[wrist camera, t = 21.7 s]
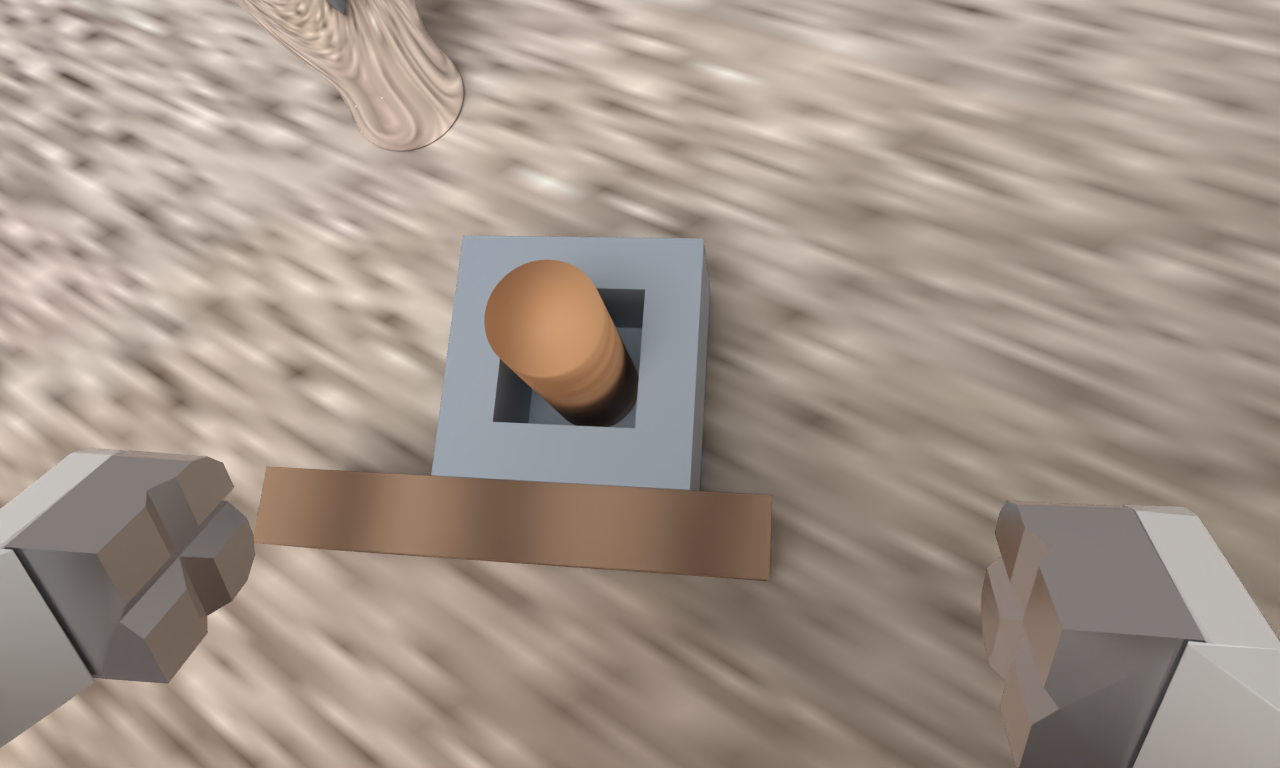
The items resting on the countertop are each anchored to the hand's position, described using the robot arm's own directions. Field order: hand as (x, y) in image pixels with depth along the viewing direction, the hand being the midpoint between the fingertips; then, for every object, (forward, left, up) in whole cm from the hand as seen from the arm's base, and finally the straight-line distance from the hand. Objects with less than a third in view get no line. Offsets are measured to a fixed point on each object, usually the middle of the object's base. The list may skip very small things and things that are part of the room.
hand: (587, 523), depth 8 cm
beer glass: (+17, -23, -28) cm, 40 cm away
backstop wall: (+8, -1, -27) cm, 29 cm away
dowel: (+5, -8, -26) cm, 28 cm away
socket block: (+6, -8, -27) cm, 29 cm away
